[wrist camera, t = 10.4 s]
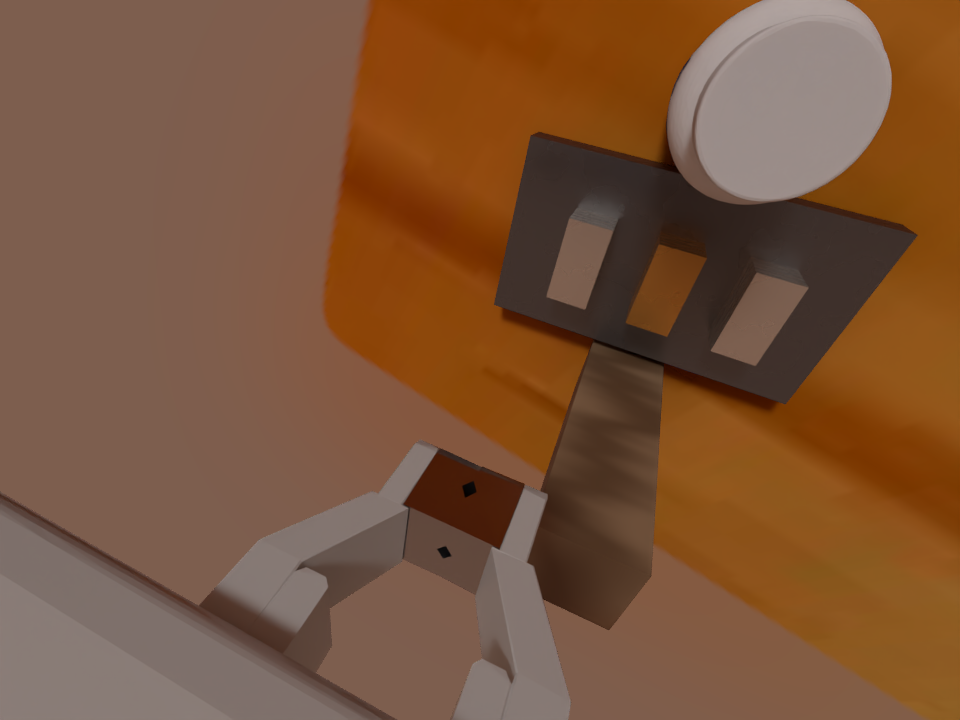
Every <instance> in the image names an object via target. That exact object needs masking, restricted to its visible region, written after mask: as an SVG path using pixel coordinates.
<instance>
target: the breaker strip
mask: <svg viewBox="0 0 960 720" xmlns="http://www.w3.org/2000/svg"><path fill="white" fill-rule="evenodd" d="M916 237H917V234H915V233H914V232H912V231H911V230H909V229H908V228H907V227H905V226H904V225H901V224H898V223H894V222H890V221H886V220H882V219H878V218H874V217H870V216H866V215H862V214H858V213H854V212H851V211H847V210H843V209H839V208H835V207H831V206H827V205H823V204H819V203H815V202H811V201H807V200H804V199H800V198H792V199H789V200H784V201H777V202H768V203H762V204H752V205H740V204H731V203H727V202H723V201H718V200H715V199H713V198H711V197H708V196H706V195H704V194H703V193H701V192H700V191H698V190H697V189H695V188H694V187H693V186H692V185H691V184H689V183H688V182H687V181H686V180H685V178H684V177H683V176H682V174H681V173H680V172H679V170H678V168H677V167H674V166H670V165H666V164H663V163H659V162H655V161H651V160H647V159H643V158H639V157H635V156H631V155H627V154H623V153H619V152H616V151H612V150H608V149H604V148H600V147H596V146H592V145H588V144H584V143H580V142H576V141H572V140H569V139H565V138H561V137H557V136H553V135H549V134H545V133H541V132H538V133H535V134H533V135H531V137H530V142H529V146H528V151H527V155H526V160H525V165H524V169H523V174H522V178H521V183H520V188H519V192H518V197H517V201H516V206H515V211H514V215H513V220H512V224H511V229H510V234H509V238H508V243H507V248H506V252H505V257H504V261H503V266H502V271H501V275H500V280H499V284H498V289H497V294H496V298H495V303H494V305H496V306H499V307H502V308H505V309H508V310H511V311H514V312H517V313H520V314H523V315H526V316H529V317H531V318H534V319H537V320H540V321H543V322H546V323H549V324H552V325H555V326H558V327H561V328H564V329H567V330H569V331H572V332H575V333H578V334H581V335H584V336H587V337H590V338H593V339H596V340H599V341H602V342H605V343H608V344H610V345H613V346H616V347H619V348H622V349H625V350H628V351H631V352H634V353H637V354H640V355H643V356H646V357H648V358H651V359H654V360H657V361H660V362H663V363H666V364H669V365H672V366H675V367H678V368H681V369H684V370H687V371H689V372H692V373H695V374H698V375H701V376H704V377H707V378H710V379H713V380H716V381H719V382H722V383H725V384H728V385H730V386H733V387H736V388H739V389H742V390H745V391H748V392H751V393H754V394H757V395H760V396H763V397H766V398H768V399H771V400H774V401H777V402H780V403H783V404H786V403H787V402H788V400H789V399H790V398H791V397H792V395H793V394H794V393H795V392H796V390H797V389H798V388H799V386H800V385H801V384H802V383H803V381H804V380H805V379H806V377H807V376H808V375H809V374H810V372H811V371H812V370H813V368H814V367H815V366H816V365H817V363H818V362H819V361H820V360H821V358H822V357H823V356H824V354H825V353H826V352H827V351H828V349H829V348H830V347H831V345H832V344H833V343H834V342H835V340H836V339H837V338H838V336H839V335H840V334H841V333H842V331H843V330H844V329H845V328H846V326H847V325H848V324H849V322H850V321H851V320H852V319H853V317H854V316H855V315H856V313H857V312H858V311H859V310H860V308H861V307H862V306H863V304H864V303H865V302H866V301H867V299H868V298H869V297H870V296H871V294H872V293H873V292H874V290H875V289H876V288H877V287H878V285H879V284H880V283H881V281H882V280H883V279H884V278H885V276H886V275H887V274H888V272H889V271H890V270H891V269H892V267H893V266H894V265H895V264H896V262H897V261H898V260H899V258H900V257H901V256H902V255H903V253H904V252H905V251H906V249H907V248H908V247H909V246H910V244H911V243H912V242H913V240H914V239H915V238H916Z"/></svg>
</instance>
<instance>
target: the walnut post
mask: <svg viewBox="0 0 960 720" xmlns="http://www.w3.org/2000/svg"><path fill="white" fill-rule="evenodd" d="M663 370H664V363H663V362H660V361H657V360H654V359H651V358H648V357H646V356H643V355H640V354H637V353H634V352H631V351H628V350H625V349H622V348H619V347H616V346H613V345H610V344H608V343H605V342H602V341H599V340H596V339H594V340H593V343H592V345H591V348H590V350H589V353H588V356H587V358H586V361H585V363H584V366H583V368H582V371H581V373H580V376H579V379H578V381H577V384H576V386H575V389H574V392H573V395H572V398H571V401H570V404H569V407H568V410H567V413H566V416H565V419H564V422H563V425H562V428H561V431H560V434H559V437H558V440H557V443H556V446H555V449H554V452H553V455H552V458H551V461H550V464H549V467H548V470H547V473H546V476H545V479H544V482H543V485H542V488H541V492H544V493H546V494H548V499H547V502H546V505H545V508H544V511H543V514H542V517H541V521H540V524H539V527H538V530H537V533H536V536H535V539H534V542H533V545H532V549H531V552H530V555H529V558H528V561H527V563H529V564H531V565H533V566H534V568H535V572H536V576H537V579H538V583H539V587H540V590H541V594H542V598H543V599H544V600H546V601H548V602H550V603H552V604H554V605H557V606H559V607H561V608H563V609H565V610H567V611H569V612H571V613H574V614H576V615H578V616H580V617H582V618H584V619H586V620H589V621H591V622H593V623H595V624H597V625H599V626H601V627H603V628H605V629H608V630H609V629H610V628H611V627H612V626H613V624H614V623H615V622H616V621H617V619H618V618H619V617H620V615H621V614H622V613H623V612H624V610H625V609H626V608H627V606H628V605H629V604H630V603H631V601H632V600H633V599H634V598H635V596H636V595H637V594H638V592H639V591H640V590H641V589H642V587H643V586H644V585H645V583H646V582H647V581H648V580H649V578H650V577H651V570H652V555H653V538H654V521H655V505H656V488H657V471H658V454H659V437H660V421H661V404H662V387H663Z"/></svg>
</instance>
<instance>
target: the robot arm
mask: <svg viewBox="0 0 960 720" xmlns="http://www.w3.org/2000/svg"><path fill="white" fill-rule="evenodd" d="M524 485H525V484H524V483H521V482H518V481H516V480H514V479H511V478H509V477H507V476H504V475H502V474H499V473H496V472H494V471H492V470H489V469H487V468H485V467H480V466H478V465H476V464H474V463H471V462H469V461H467V460H465V459H462V458H461V457H458V456H456V455H454V454H452V453H450V452H447V451H445V450H443V449H441V448H438V447H436V446H434V445H432V444H429V443H427V442H425V441H423V440H419V441H418V442H416V443H415V444H414V445H413V447H412V448H411V449H410V451H409V452H408V454H407V455H406V456H405V458H404V459H403V460H402V462H401V463H400V465H399V466H398V467H397V469H396V470H395V471H394V473H393V474H392V476H391V477H390V478H389V480H388V481H387V483H386V484H385V485H384V486H383V488H382V489H381V491H380V492H379V493H376V492H373V491H371V492H369V493H366V494H364V495H362V496H359V497H357V498H355V499H353V500H350V501H348V502H345V503H343V504H341V505H338V506H336V507H334V508H332V509H329V510H327V511H325V512H322V513H320V514H318V515H315V516H313V517H311V518H308V519H306V520H304V521H301V522H299V523H297V524H294V525H292V526H290V527H287V528H285V529H283V530H280V531H279V532H276V533H274V534H271V535H269V536H267V537H264V538H262V539H260V540H258V542H257V543H256V544H255V545H254V546H253V547H252V548H251V549H250V551H248V553H247V554H246V555H245V556H244V557H243V558H242V559H241V560H240V561H239V562H238V563H237V565H236V566H235V567H234V568H233V569H232V570H231V571H230V572H229V573H228V574H227V576H226V577H225V578H224V579H223V580H222V581H221V582H220V583H219V584H218V585H217V586H216V587H215V588H214V590H213V591H212V592H211V593H210V594H209V595H208V596H207V597H206V598H205V599H204V601H203V602H202V603H201V604H200V605H199V606H198V605H196V604H195V603H193V602H191V601H189V600H188V599H186V598H184V597H182V596H181V595H179V594H177V593H175V592H174V591H172V590H170V589H168V588H167V587H165V586H163V585H162V584H160V583H158V582H156V581H155V580H153V579H151V578H149V577H148V576H146V575H144V574H142V573H141V572H139V571H137V570H135V569H134V568H132V567H130V566H128V565H127V564H125V563H123V562H122V561H120V560H118V559H116V558H114V557H113V556H111V555H109V554H108V553H106V552H104V551H102V550H100V549H99V548H97V547H95V546H93V545H92V544H90V543H88V542H87V541H85V540H83V539H81V538H80V537H78V536H76V535H75V534H73V533H71V532H69V531H68V530H66V529H64V528H62V527H60V526H59V525H57V524H55V523H54V522H52V521H50V520H48V519H47V518H45V517H43V516H41V515H40V514H38V513H36V512H34V511H33V510H31V509H29V508H28V507H26V506H24V505H22V504H21V503H19V502H17V501H15V500H13V499H12V498H10V497H8V496H7V495H5V494H3V493H1V492H0V720H397V719H395V718H393V717H391V716H389V715H388V714H386V713H384V712H383V711H381V710H379V709H377V708H376V707H374V706H372V705H370V704H369V703H367V702H365V701H364V700H362V699H360V698H358V697H357V696H355V695H353V694H351V693H350V692H348V691H346V690H344V689H343V688H341V687H339V686H337V685H336V684H334V683H332V682H330V681H329V680H327V679H325V678H323V677H322V676H320V675H318V674H317V673H316V672H317V670H318V668H319V666H320V665H321V663H322V662H323V660H324V658H325V656H326V655H327V653H328V651H329V650H330V648H331V646H332V639H331V622H330V608H331V607H333V606H334V605H336V604H337V603H339V602H340V601H342V600H343V599H345V598H347V597H348V596H350V595H351V594H353V593H354V592H355V591H357V590H359V589H360V588H362V587H363V586H365V585H367V584H368V583H369V582H371V581H373V580H374V579H376V578H377V577H379V576H380V575H382V574H384V573H385V572H387V571H388V570H390V569H391V568H393V567H394V566H396V565H398V564H399V563H401V562H402V559H404V560H406V561H408V562H410V563H413V564H415V565H417V566H419V567H421V568H423V569H426V570H428V571H430V572H432V573H435V574H436V575H439V576H441V577H442V578H444V579H446V580H448V581H450V582H452V583H454V584H456V585H458V586H460V587H462V588H463V589H465V590H467V591H469V592H471V593H473V594H475V595H476V596H475V601H476V610H477V619H478V627H479V635H480V645H481V654H482V659H481V660H479V661H477V662H475V663H473V665H472V667H471V670H470V672H469V674H468V677H467V679H466V682H465V684H464V687H463V689H462V691H461V694H460V696H459V699H458V701H457V704H456V706H455V708H454V711H453V713H452V716H451V719H450V720H568V717H569V712H570V706H571V701H570V697H569V693H568V690H567V686H566V682H565V679H564V675H563V671H562V667H561V664H560V660H559V656H558V653H557V649H556V645H555V642H554V638H553V635H552V631H551V627H550V623H549V620H548V616H547V612H546V609H545V605H544V602H543V598H542V594H541V590H540V587H539V583H538V579H537V576H536V572H535V568H534V566H533V565H531V564H529V563H527V561H528V558H529V555H530V552H531V549H532V545H533V542H534V539H535V536H536V533H537V530H538V527H539V524H540V521H541V517H542V514H543V511H544V508H545V505H546V502H547V499H548V494H546V493H544V492H541V491H539V490H537V489H534V488H532V487H530V486H527V485H525V486H524ZM523 488H524V489H523ZM522 491H523V492H522ZM519 499H520V500H519Z"/></svg>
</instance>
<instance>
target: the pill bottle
mask: <svg viewBox="0 0 960 720" xmlns="http://www.w3.org/2000/svg"><path fill="white" fill-rule="evenodd" d="M890 96H891V69H890V64H889V60H888V58H887V54H886V52H885V51H884V47H883V44H882V41H881V38H880V35H879V33H878V31H877V30H876V28H875V26H874V24H873V23H872V22H871V20H870V19H869V18H868V17H867V16H866V15H865V14H864V13H863V12H862V11H861V10H860V9H859V8H857V7H856V6H854V5H853V4H852V3H850V2H848V1H846V0H763V1H760V2H758V3H756V4H754V5H752V6H750V7H748V8H746V9H744V10H742V11H741V12H739V13H738V14H736V15H734V16H733V17H731V18H730V19H729V20H727V21H726V22H725V23H723V24H722V25H721V26H720V27H719V28H717V29H716V30H715V31H714V32H713V33H712V34H711V35H710V36H709V37H708V38H707V39H706V40H705V41H704V42H703V43H702V45H701V46H700V47H699V48H698V49H697V50H696V51H695V52H694V54H693V55H692V56H691V58H690V59H689V60H688V61H687V63H686V64H685V66H684V67H683V69H682V70H681V72H680V74H679V76H678V78H677V80H676V83H675V85H674V88H673V91H672V94H671V99H670V103H669V108H668V115H667V122H666V128H667V137H668V144H669V148H670V152H671V155H672V158H673V160H674V162H675V165H676V167H677V168H678V170H679V172H680V173H681V174H682V176H683V177H684V178H685V180H686V181H687V182H688V183H689V184H691V185H692V186H693V187H694V188H695V189H697V190H698V191H700V192H701V193H703V194H704V195H706V196H708V197H711V198H713V199H715V200H718V201H723V202H727V203H731V204H740V205H752V204H762V203H768V202H777V201H784V200H789V199H792V198H796V197H799V196H802V195H804V194H807V193H809V192H811V191H814V190H816V189H818V188H820V187H822V186H824V185H825V184H827V183H828V182H830V181H831V180H833V179H834V178H836V177H837V176H839V175H840V174H841V173H843V172H844V171H845V170H846V169H847V168H848V167H849V166H851V165H852V164H853V163H854V162H855V161H856V160H857V159H858V157H859V156H860V155H861V154H862V153H863V152H864V151H865V149H866V148H867V147H868V145H869V144H870V143H871V141H872V140H873V138H874V136H875V135H876V133H877V131H878V129H879V127H880V126H881V124H882V122H883V119H884V116H885V114H886V111H887V108H888V105H889V100H890Z"/></svg>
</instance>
